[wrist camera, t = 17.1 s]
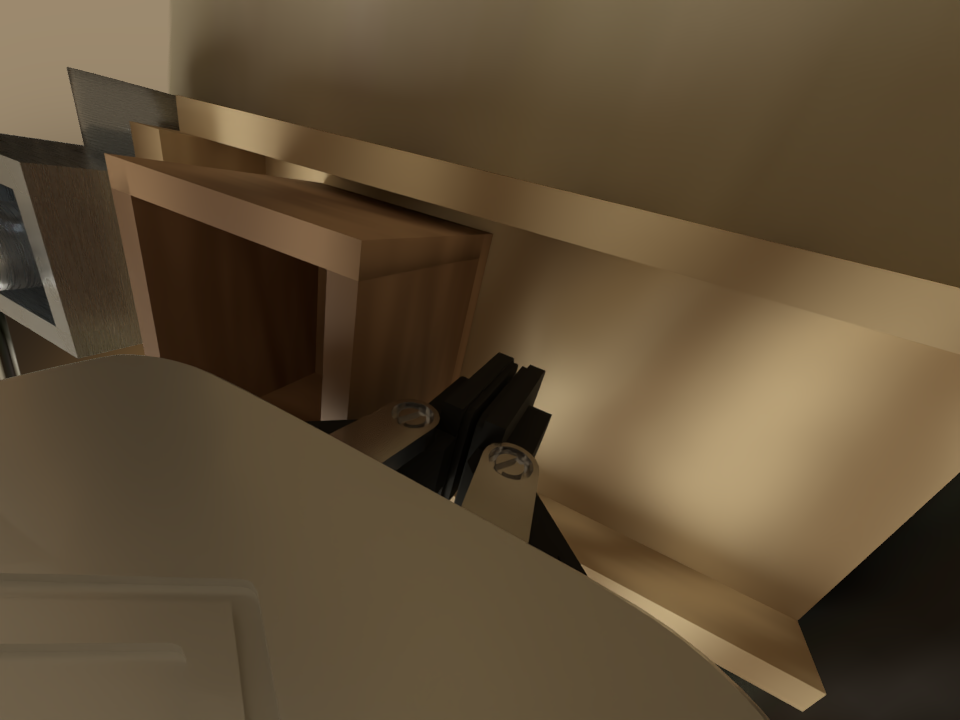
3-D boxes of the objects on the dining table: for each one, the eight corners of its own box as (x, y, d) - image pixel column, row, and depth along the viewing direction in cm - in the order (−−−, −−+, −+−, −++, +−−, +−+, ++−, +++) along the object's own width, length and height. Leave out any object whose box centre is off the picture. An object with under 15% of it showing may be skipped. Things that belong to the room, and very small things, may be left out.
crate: (493, 233, 13) (361, 240, 7) (445, 437, 17) (335, 555, 11) (320, 182, 15) (104, 153, 9) (315, 374, 19) (163, 443, 13)
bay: (1060, 318, 9) (1469, 408, 5) (768, 609, 15) (824, 777, 10) (262, 119, 17) (122, 79, 12) (270, 362, 22) (176, 396, 18)
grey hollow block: (254, 117, 17) (-17, 40, 10) (262, 315, 21) (77, 358, 14) (157, 93, 19) (-128, 14, 12) (183, 279, 23) (-15, 302, 16)
